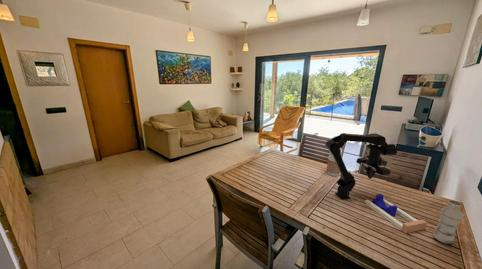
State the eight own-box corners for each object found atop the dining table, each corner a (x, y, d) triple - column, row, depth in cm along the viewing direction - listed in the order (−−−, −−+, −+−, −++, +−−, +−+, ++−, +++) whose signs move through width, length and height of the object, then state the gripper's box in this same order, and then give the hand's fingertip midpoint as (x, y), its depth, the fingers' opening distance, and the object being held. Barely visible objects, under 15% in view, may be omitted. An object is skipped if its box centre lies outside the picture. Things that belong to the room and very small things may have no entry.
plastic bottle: (428, 235, 90) (439, 198, 85) (441, 234, 91) (453, 198, 85) (443, 246, 84) (456, 208, 78) (456, 245, 84) (471, 207, 79)
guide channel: (405, 233, 91) (407, 226, 90) (364, 203, 114) (365, 197, 113) (425, 229, 94) (427, 222, 93) (381, 200, 116) (382, 194, 115)
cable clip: (372, 202, 114) (374, 194, 113) (379, 202, 114) (381, 194, 113) (386, 216, 103) (389, 207, 101) (395, 216, 103) (397, 207, 101)
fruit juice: (331, 177, 145) (336, 142, 137) (323, 171, 154) (327, 138, 146) (342, 175, 147) (347, 141, 139) (333, 170, 155) (338, 137, 148)
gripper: (401, 159, 105) (395, 184, 109) (372, 148, 122) (368, 170, 127) (384, 161, 103) (379, 187, 107) (357, 150, 120) (353, 172, 125)
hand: (369, 178), depth 116 cm, fingers closed
